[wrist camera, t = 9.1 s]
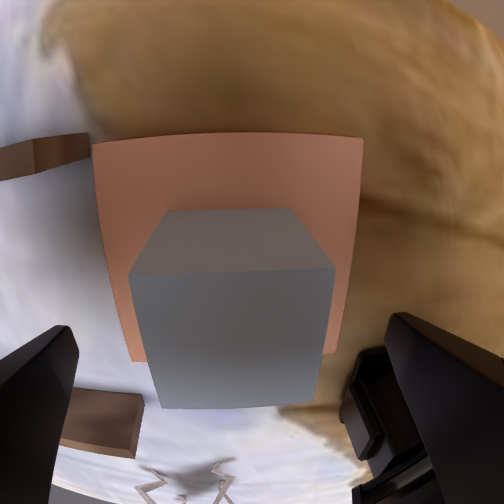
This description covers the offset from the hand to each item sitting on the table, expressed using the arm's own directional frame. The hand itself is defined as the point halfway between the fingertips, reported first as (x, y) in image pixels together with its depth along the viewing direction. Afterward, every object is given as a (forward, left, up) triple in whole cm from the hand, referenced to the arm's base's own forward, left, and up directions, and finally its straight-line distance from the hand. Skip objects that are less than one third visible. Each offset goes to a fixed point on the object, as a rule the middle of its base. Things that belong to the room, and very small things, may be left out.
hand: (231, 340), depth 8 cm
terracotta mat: (0, 0, -5) cm, 5 cm away
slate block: (0, 0, -5) cm, 5 cm away
